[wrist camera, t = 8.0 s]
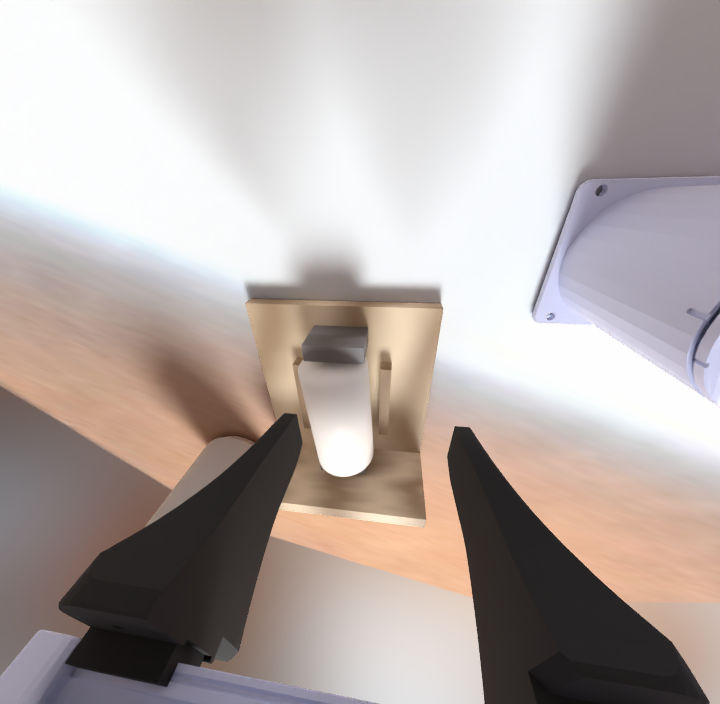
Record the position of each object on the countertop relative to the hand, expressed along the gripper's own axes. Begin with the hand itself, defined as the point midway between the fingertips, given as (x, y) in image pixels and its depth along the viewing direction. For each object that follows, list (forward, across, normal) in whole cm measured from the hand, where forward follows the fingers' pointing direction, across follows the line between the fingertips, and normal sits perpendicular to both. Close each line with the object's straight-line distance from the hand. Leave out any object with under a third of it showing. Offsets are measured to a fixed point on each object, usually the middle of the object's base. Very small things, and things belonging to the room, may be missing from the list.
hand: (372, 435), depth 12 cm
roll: (+8, +3, +5) cm, 10 cm away
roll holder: (+9, +3, +5) cm, 11 cm away
